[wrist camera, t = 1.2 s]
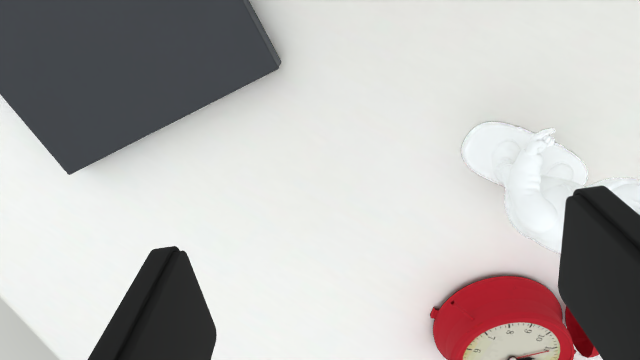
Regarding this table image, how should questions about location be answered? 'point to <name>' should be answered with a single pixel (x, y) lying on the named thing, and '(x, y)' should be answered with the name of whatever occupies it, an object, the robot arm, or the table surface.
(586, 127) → the table surface
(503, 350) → the alarm clock
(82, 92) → the scale
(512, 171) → the figurine
